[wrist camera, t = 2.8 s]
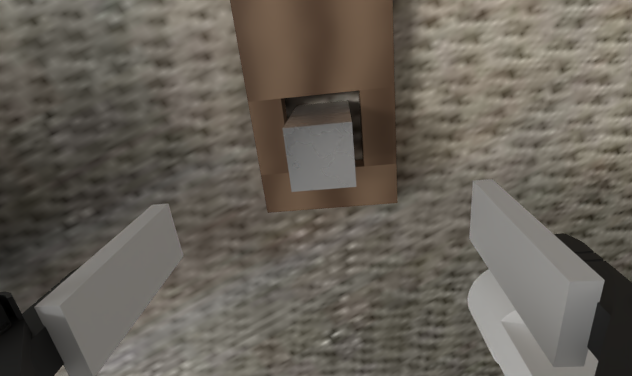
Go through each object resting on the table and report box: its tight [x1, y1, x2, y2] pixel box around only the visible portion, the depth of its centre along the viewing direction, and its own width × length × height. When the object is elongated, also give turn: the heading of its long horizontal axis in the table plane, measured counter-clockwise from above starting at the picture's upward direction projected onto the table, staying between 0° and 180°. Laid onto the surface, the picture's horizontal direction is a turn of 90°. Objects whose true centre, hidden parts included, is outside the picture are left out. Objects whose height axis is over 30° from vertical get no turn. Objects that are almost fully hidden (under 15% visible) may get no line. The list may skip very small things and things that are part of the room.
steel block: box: [282, 100, 356, 192], centre depth 28 cm, size 4×4×9 cm
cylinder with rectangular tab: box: [467, 269, 598, 376], centre depth 32 cm, size 9×9×12 cm
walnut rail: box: [230, 0, 397, 213], centre depth 27 cm, size 12×34×2 cm, turn 6°
